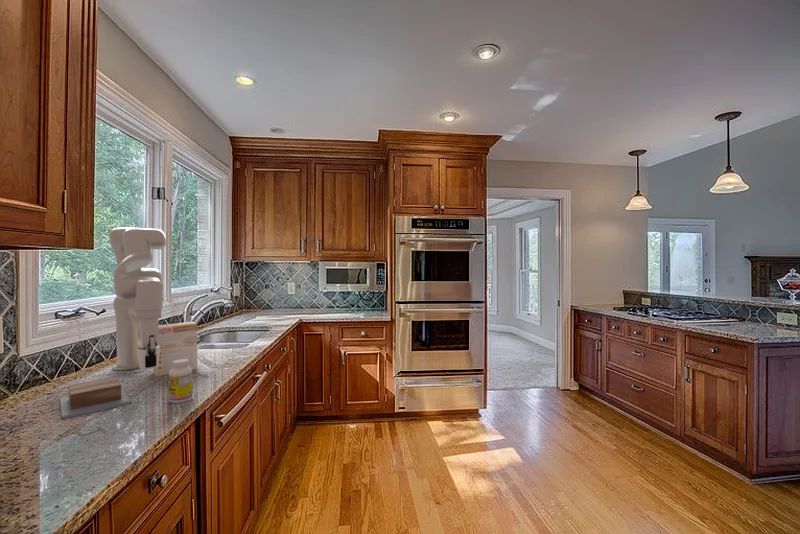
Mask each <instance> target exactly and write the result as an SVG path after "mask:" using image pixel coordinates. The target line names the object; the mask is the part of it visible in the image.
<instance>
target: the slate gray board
mask: <svg viewBox="0 0 800 534" xmlns="http://www.w3.org/2000/svg"><path fill="white" fill-rule="evenodd" d="M59 403H60V404H59V405H60V412H61V419H62V420H64V419H68V418H72V417H76V416H82V415H86V414H91V413H95V412H99V411H103V410H104V411H105V410H108V409H113V408H117V407H121V406H126V405H130V404H132V400H131V399H130V396H128V394H127V392H126V391H125V388H124V387H123V386H122V385H121V400H116V401H111V402H107V403H102V404H97V405H93V406H88V407H83V408H79V409H74V410H71V409H70V403H69V395H68V396H64V397H63V396H62V397H60V398H59Z"/></svg>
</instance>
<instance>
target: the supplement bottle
mask: <svg viewBox="0 0 800 534" xmlns="http://www.w3.org/2000/svg"><path fill="white" fill-rule="evenodd" d="M188 364H189V360H188V359H179V360H175V361H172V366H173V369H171V370H170V371H169V374H168V402H169V403H171V404H182V403H185V402H188V401H190V400H192V399H193V395H194V394H193V393H194V390H193V384H194V383H193V370H192V368H191V367H188Z"/></svg>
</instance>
